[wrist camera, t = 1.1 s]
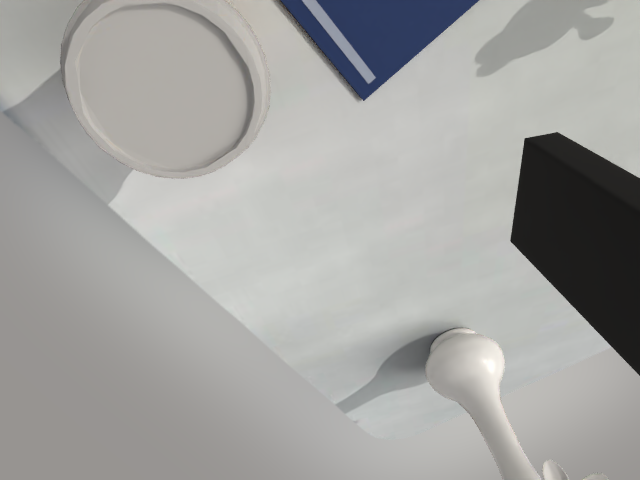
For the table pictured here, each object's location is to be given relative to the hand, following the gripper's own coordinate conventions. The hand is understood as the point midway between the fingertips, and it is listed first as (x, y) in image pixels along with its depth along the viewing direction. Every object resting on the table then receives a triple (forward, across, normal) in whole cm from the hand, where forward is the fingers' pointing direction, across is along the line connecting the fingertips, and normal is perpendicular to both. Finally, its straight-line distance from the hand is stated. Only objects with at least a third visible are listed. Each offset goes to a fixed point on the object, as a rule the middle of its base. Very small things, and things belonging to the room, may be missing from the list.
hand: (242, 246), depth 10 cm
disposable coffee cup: (+25, -3, +1) cm, 26 cm away
